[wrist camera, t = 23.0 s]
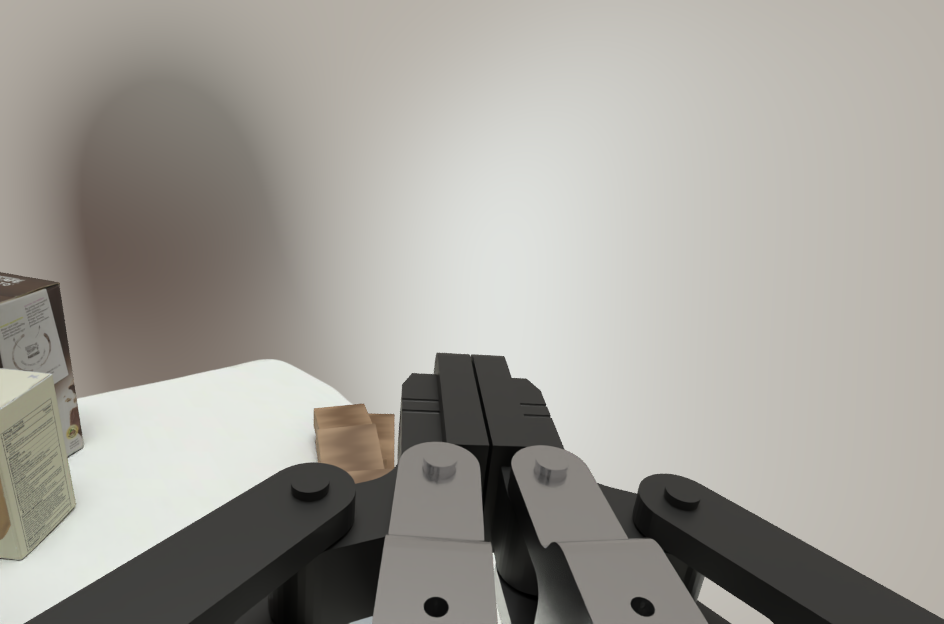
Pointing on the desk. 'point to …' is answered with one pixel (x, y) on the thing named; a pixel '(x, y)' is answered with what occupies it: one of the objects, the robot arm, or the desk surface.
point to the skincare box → (31, 462)
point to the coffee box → (39, 343)
